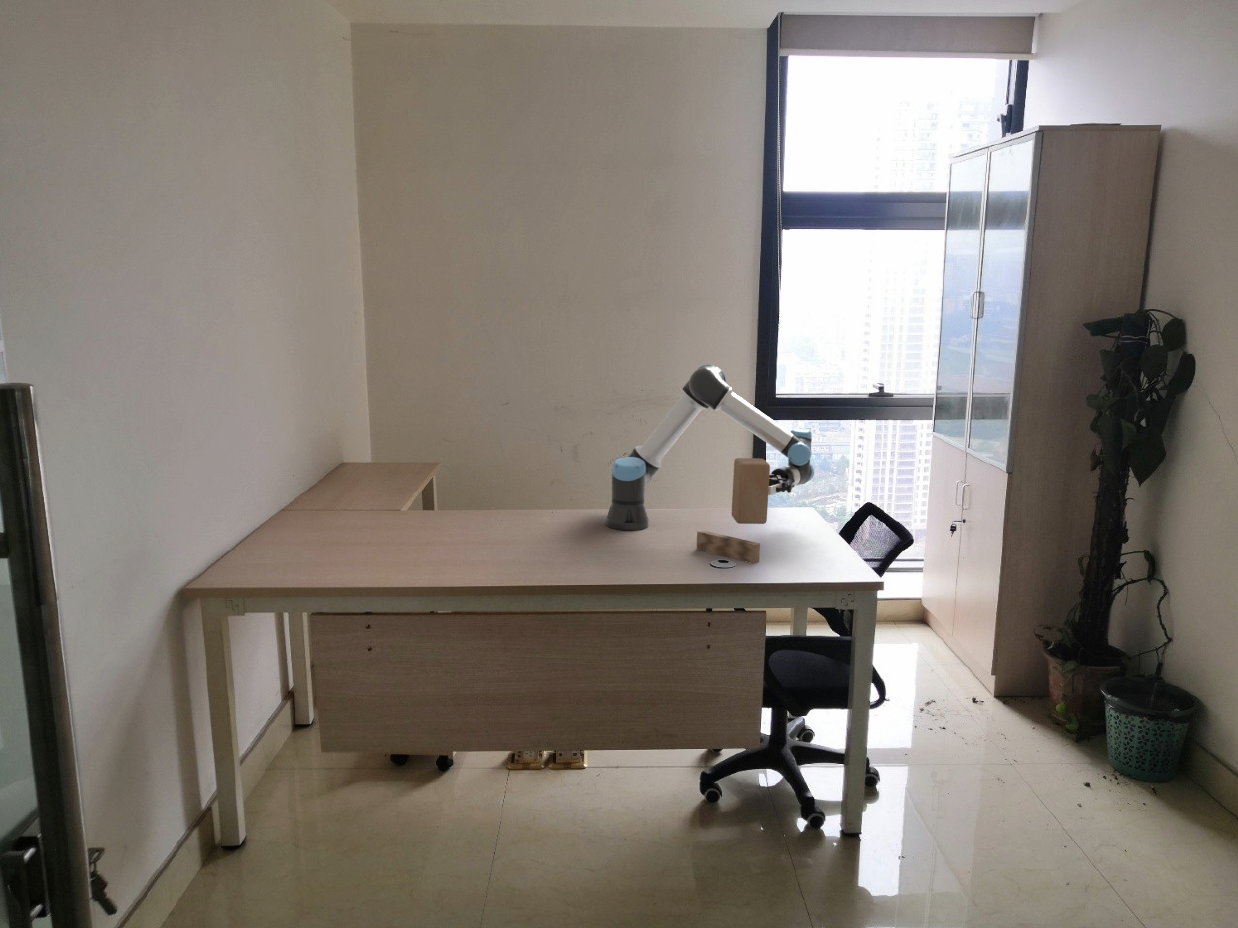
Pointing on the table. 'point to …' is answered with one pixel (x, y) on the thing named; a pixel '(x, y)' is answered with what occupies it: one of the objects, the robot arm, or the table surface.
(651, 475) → the robot arm
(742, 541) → the board
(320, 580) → the table surface
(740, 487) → the block
